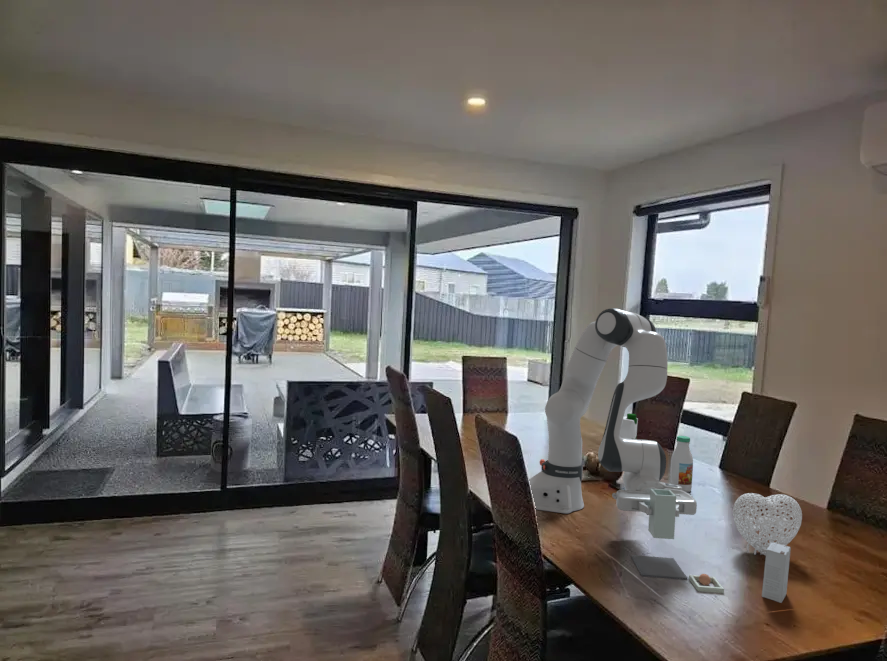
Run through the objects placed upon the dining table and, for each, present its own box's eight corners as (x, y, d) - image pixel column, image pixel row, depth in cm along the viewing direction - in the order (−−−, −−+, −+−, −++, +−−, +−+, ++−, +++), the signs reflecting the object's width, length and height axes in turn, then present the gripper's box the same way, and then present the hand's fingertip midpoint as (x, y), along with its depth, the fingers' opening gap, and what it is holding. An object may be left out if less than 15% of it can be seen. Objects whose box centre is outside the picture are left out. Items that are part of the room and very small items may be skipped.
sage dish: (697, 594, 135) (698, 586, 135) (688, 582, 141) (689, 574, 141) (723, 596, 134) (724, 588, 134) (713, 584, 140) (714, 576, 140)
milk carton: (631, 461, 252) (634, 416, 251) (611, 457, 257) (613, 413, 257) (637, 457, 259) (640, 413, 258) (617, 453, 265) (620, 410, 264)
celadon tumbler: (653, 537, 144) (655, 495, 143) (648, 530, 149) (650, 488, 148) (674, 539, 143) (676, 496, 143) (667, 531, 148) (670, 489, 148)
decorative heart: (785, 548, 164) (789, 489, 163) (808, 565, 153) (813, 502, 152) (722, 545, 164) (726, 486, 163) (741, 561, 153) (745, 499, 152)
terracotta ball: (699, 585, 137) (696, 573, 139) (702, 587, 139) (698, 576, 141) (710, 583, 136) (707, 571, 138) (713, 585, 138) (709, 573, 140)
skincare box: (766, 589, 138) (769, 540, 138) (787, 596, 135) (791, 546, 135) (760, 599, 133) (764, 548, 133) (782, 606, 131) (786, 554, 130)
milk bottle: (669, 490, 212) (672, 437, 212) (669, 484, 220) (672, 433, 219) (691, 493, 210) (695, 440, 209) (691, 488, 217) (694, 436, 216)
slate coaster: (641, 578, 141) (641, 574, 141) (630, 558, 152) (631, 554, 152) (687, 581, 140) (687, 577, 140) (673, 561, 151) (673, 558, 151)
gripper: (611, 481, 159) (622, 498, 145) (686, 486, 158) (704, 503, 144) (610, 503, 160) (621, 522, 146) (685, 508, 158) (703, 527, 144)
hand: (663, 513), depth 145 cm, fingers closed on celadon tumbler, 5 cm apart
